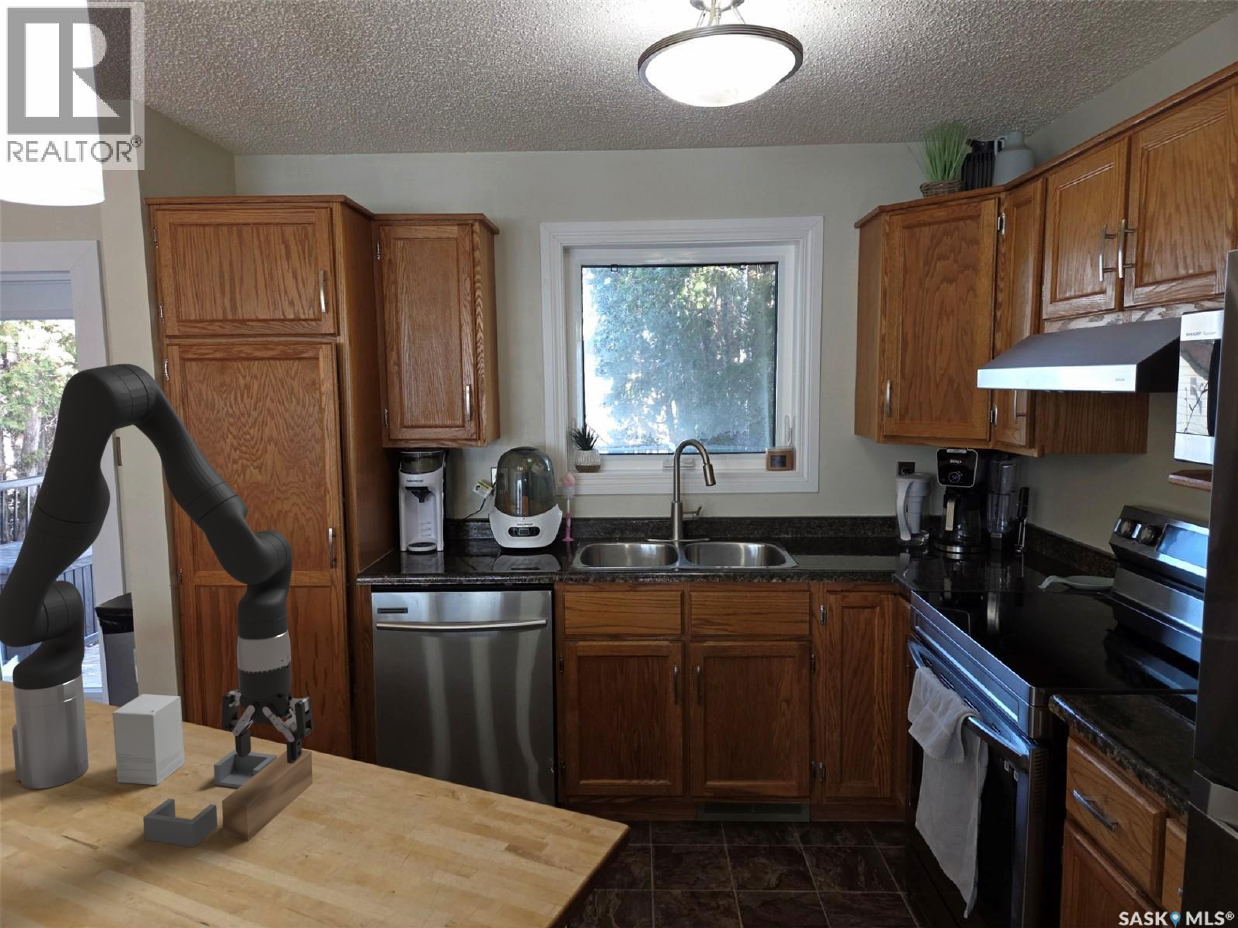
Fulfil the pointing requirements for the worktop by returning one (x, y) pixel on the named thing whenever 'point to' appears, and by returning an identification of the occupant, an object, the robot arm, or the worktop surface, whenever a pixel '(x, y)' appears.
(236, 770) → the endcap
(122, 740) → the supplement box
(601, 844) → the worktop surface
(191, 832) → the endcap
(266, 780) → the brown wooden bar
